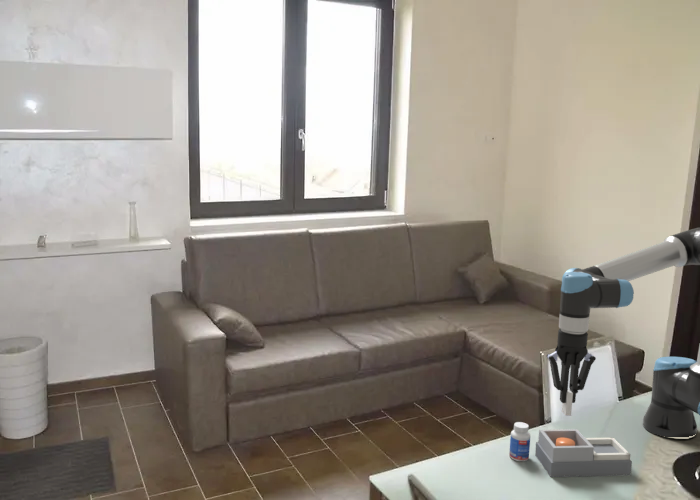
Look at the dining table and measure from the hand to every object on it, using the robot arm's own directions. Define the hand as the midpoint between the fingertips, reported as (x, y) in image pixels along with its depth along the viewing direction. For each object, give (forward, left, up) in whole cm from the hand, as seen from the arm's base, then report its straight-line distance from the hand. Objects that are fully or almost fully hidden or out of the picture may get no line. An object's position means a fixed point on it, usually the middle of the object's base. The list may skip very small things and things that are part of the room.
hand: (566, 413), depth 173 cm
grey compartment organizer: (-5, 0, -15) cm, 16 cm away
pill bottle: (+11, -5, -15) cm, 19 cm away
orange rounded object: (0, 0, -12) cm, 12 cm away
